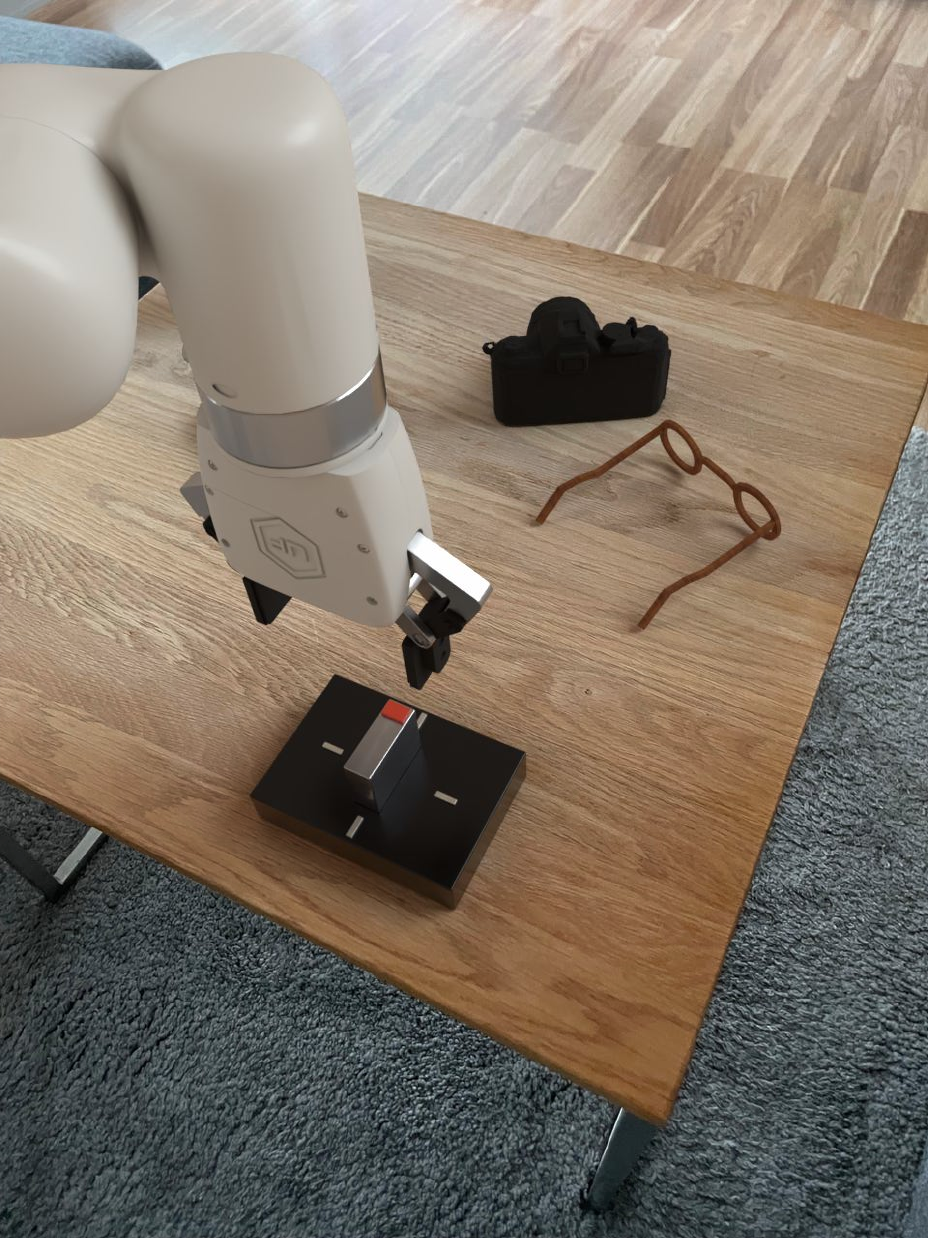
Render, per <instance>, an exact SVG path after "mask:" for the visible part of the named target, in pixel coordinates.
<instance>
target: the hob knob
mask: <svg viewBox="0 0 928 1238" xmlns="http://www.w3.org/2000/svg"><path fill="white" fill-rule="evenodd" d="M420 747H421V741H420V735H419V730H418V724H417V719H416V713H415V710H414V709H412V708H410V707H407V706H405V705H403V704H400V703H398V702H396V701H393V700H391V699H389V700H388V702H387V703H386V705H385V706H384V708H383V709H382V711H381V712H380V714H379V715H378V717H377V718H376V720H375V721H374V723H373V724H372V726H371V727H370V729H369V730H368V732H367V733H366V735H365V736H364V738H363V739H362V740H361V742H360V743H359V745H358V746H357V748H356V749H355V751H354V752H353V754H352V755H351V757H350V758H349V760H348V761H347V763H346V764H345V766H344V770H345V773H346V777H347V780H348V783H349V786H350V790H351V793H352V796H353V799H354V801H355V802H357V803H359V804H361V805H363V806H365V807H367V808H369V809H371V810H374V811H376V812H378V813H379V812H380V810H381V809H382V807H383V806H384V804H385V803H386V801H387V799H388V798H389V796H390V795H391V793H392V791H393V790H394V788H395V787H396V785H397V784H398V782H399V780H400V779H401V777H402V776H403V774H404V772H405V771H406V769H407V768H408V766H409V765H410V763H411V761H412V760H413V758H414V757H415V755H416V753H417V752H418V750H419V749H420Z"/></svg>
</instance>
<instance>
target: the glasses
mask: <svg viewBox="0 0 928 1238" xmlns="http://www.w3.org/2000/svg"><path fill="white" fill-rule="evenodd" d="M668 429H669V430H672V431H673V432H676V434H678V435H679V436H680V437H681V438H682V440H684V441H685V443H686V444H687V446H688V447H689V449H690V451H691V453H692V457H693V460H694V461H693V466H692V465H690V464H688V463H687V462H685V461H684V460H683V459H682V458H681V457H680V456H679V455H678V453H676V452H675V450H674V448H673V447H672V445H671V442H670V439H669V435H668V431H669V430H668ZM658 437H659V438H660V441H661V445H662V447H663V448H664V450H665V452H666V454H667V455H668V457H669V458H670V460H672V462H673V463H674V464H675V465H676V466H677V467H678V468H679V469H680V470H681V471H683V472H684V473H686V474H688V475H690V476H696V475H698V474H699V473H701V471H702V469H703V465H704V466H705V467H706V468H708V469H709V470H710V471H711V472H712V473H713V474H714V475H716V476H717V477H718V478H719V479H720V480H722V481H723V482H724V483H725V484H726V485H727V486H728V487H729V488H730V490H731V491H732V498H733V503H734V507H735V509H736V511H737V514H738V515H739V517H740V518H741V520H742V521H743V522H744V523H745V524H746V526H747V527H748V528H749V529H750V530H751V531H752V533H750V534H749V535H748V536H747V537H745V538H744V539H742V540H741V541H740V542H738V543H737V544H736V545H734V546H733V547H731V548H730V549H728V550H727V551H726V552H725V553H723V554H722V555H720V556H719V557H717V558H716V559H715V560H713V561H712V562H710V563H709V564H707V565H706V566H705V567H704V568H701V569H698V570H696V571H695V572H692V573H690V574H687V575H685V576H683V577H682V578H680V579H678V580H677V581H675V582H673V583H672V584H670V585H668V586H667V587H665V588H663V589H662V591H660V593H659V595H658V596H657V597H656V599H655V600H654V601H653V603H652V604H651V605H650V607H649V608H648V609H647V610H646V612H645V614H644V615H643V616H642V617H641V619H639V621H638V623H637V624H636V626H637V627H638V628H639V629H641V630H643V631H645V630H646V629H647V627H648V626H649V625H650V623H651V622H652V620H653V619H654V618H655V616H656V615H657V614H658V613H659V611H660V610H661V608H662V607H663V606H664V605H665V603H666V602H667V601H668V600H669V598H670V597H671V595H672V594H675V593H677V592H678V591H680V590H682V589H683V588H685V587H687V586H688V585H689V584H692V583H694V582H697V581H699V580H702V579H703V578H706V577H708V576H710V575H711V574H713V573H714V572H715V571H717V570H718V569H719V568H721V567H722V566H723V565H725V564H726V563H728V562H729V561H731V560H732V559H734V557H736V556H737V555H739V554H740V553H742V552H743V551H744V550H746V549H747V548H748V547H750V546H751V545H753V544H754V543H756V541H758V540H759V539H760V538H762V539H763V540H765V541H770V542H772V541H774V540H776V539H778V537H780V535H781V533H782V522H781V519H780V516H779V514H778V511H777V510H776V508H775V507H774V505H773V503H772V502H771V501H770V500H769V498H768V497H766V495H765V494H763V492H762V491H760V490H759V489H758V488H756V487H755V486H753V485H752V484H750V483H748V482H742V481H739V482H736V481H735V480H734V479H733V478H732V477H731V476H730V474H729V473H728V472H726V471H725V470H724V469H723V468H722V467H720V465H718V464H717V463H716V462H715V461H713V460H712V459H711V458H709V457H707V456H705V455H703V454H702V450H701V448H700V447H699V445H698V444H697V442H696V441H695V439H694V438H693V437H692V435H691V434H690V433H689V432H688V431H687V430H686V429H685V427H684V426H682V425H681V424H680V423H678V422H676V421H674V420H672V419H665V420H664V421H662V422H661V423H660V424H659V425H658V426H656V427H655V428H653V429H652V430H650V431H649V432H647V433H646V434H644V435H643V436H641V437H640V438H639V439H637V440H636V441H635V442H633V443H632V444H630V445H629V446H627V447H625V448H624V449H623V450H622V451H620V452H619V453H617V454H616V455H614V456H613V457H611V458H609V460H607V461H606V462H604V463H602V464H601V465H600V466H598V467H597V468H595V469H592V470H589V471H586V472H584V473H580V474H578V475H575V476H574V477H572V478H570V479H569V480H567V481H565V482H563V483H561V484H560V485H558V486H557V487H556V488H555V489H554V491H553V492H552V494H551V496H550V497H549V498H548V500H547V501H546V503H545V504H544V506H543V508H542V509H541V510H540V511H539V513H538V515H537V516H536V517H535V519H534V521H535V522H536V523H537V524H540V525H544V523H545V522H546V520H547V519H548V518H549V516H550V514H551V513H552V512H553V510H554V508H555V507H556V505H557V504H558V502H559V501H560V499H561V498H562V497H563V496H564V494H565V492H567V491H569V490H571V489H572V488H574V487H576V486H578V485H580V484H583V483H585V482H587V481H590V480H593V479H597V478H599V477H602V476H603V475H605V473H607V472H608V471H610V470H612V469H613V468H614V467H617V465H619V464H620V463H622V462H623V461H625V460H626V459H627V458H629V457H630V456H631V455H633V454H634V453H636V452H637V451H639V450H640V449H642V448H643V447H645V446H646V445H647V444H649V443H650V442H652V441H653V440H655V439H656V438H658ZM742 492H743V493H747V494H749V495H750V496H751V497H753V498H755V500H757V501H758V502H759V503H760V505H761V506H762V507H763V509H764V510H765V511H766V513H767V514H768V516H769V519H770V520H769V521H767V522H766V523H764V524H763V525H762V526H760V525H759V524H757V523H756V522H755V521H754V519H753V518H752V517H751V516H750V515H749V513H748V511H747V509H746V508H745V506H744V503H743V497H742Z"/></svg>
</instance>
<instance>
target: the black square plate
mask: <svg viewBox="0 0 928 1238" xmlns="http://www.w3.org/2000/svg"><path fill="white" fill-rule="evenodd" d="M389 699H391V700H393V701H396V702H398V703H400V704H403V705H405V706H407V707H410V708H412V709H414V710H415V713H416V719H417V724H418V730H419V735H420V741H421V747H420V749H419V750H418V752H417V753H416V755H415V757H414V758H413V760H412V761H411V763H410V765H409V766H408V768H407V769H406V771H405V772H404V774H403V776H402V777H401V779H400V780H399V782H398V784H397V785H396V787H395V788H394V790H393V791H392V793H391V795H390V796H389V798H388V799H387V801H386V803H385V804H384V806H383V807H382V809H381V810H380V812H379V813H378V812H376V811H374V810H371V809H369V808H367V807H365V806H363V805H361V804H359V803H357V802H355V801H354V799H353V796H352V793H351V790H350V786H349V783H348V780H347V777H346V773H345V770H344V766H345V764H346V763H347V761H348V760H349V758H350V757H351V755H352V754H353V752H354V751H355V749H356V748H357V746H358V745H359V743H360V742H361V740H362V739H363V738H364V736H365V735H366V733H367V732H368V730H369V729H370V727H371V726H372V724H373V723H374V721H375V720H376V718H377V717H378V715H379V714H380V712H381V711H382V709H383V708H384V706H385V705H386V703H387V702H388V700H389ZM526 777H527V752H526V751H524V750H522V749H520V748H517V747H514V746H512V745H510V744H507V743H505V742H502V741H500V740H497V739H495V738H493V737H490V736H488V735H486V734H483V733H480V732H478V731H475V730H473V729H470V728H468V727H466V726H463V725H461V724H458V723H456V722H453V721H451V720H449V719H447V718H444V717H441V716H439V715H437V714H434V713H432V712H430V711H426V710H424V709H422V708H420V707H418V706H415V705H412V704H410V703H407V702H405V701H402V700H400V699H397V698H395V697H393V696H390V695H388V694H386V693H383V692H381V691H378V690H376V689H373V688H370V687H368V686H367V685H365V684H361V683H358V682H356V681H353V680H352V679H349V678H347V677H344V676H342V675H339V674H337V673H334V674H333V675H332V676H331V678H330V680H329V681H328V682H327V684H326V685H325V686H324V688H323V689H322V691H321V692H320V694H319V695H318V697H317V698H316V699H315V701H314V702H313V704H312V706H311V707H310V708H309V710H308V711H307V712H306V714H305V715H304V717H303V718H302V720H301V721H300V723H298V725H297V727H296V728H295V730H294V731H293V732H292V734H291V736H289V738H288V739H287V741H286V743H285V744H284V745H283V747H282V748H281V750H280V751H279V753H278V754H277V755H276V756H275V758H274V760H273V761H272V763H271V764H270V766H268V768H267V770H266V771H265V773H264V774H263V776H261V778H260V780H259V781H258V783H257V784H256V785H255V787H254V788H253V789H252V791H251V793H250V794H249V798H250V800H251V802H252V805H253V807H254V808H255V810H256V813H257V814H258V817H259V818H260V819H262V820H263V821H266V822H268V823H270V824H272V825H274V826H276V827H278V828H281V829H283V830H285V831H287V832H289V833H291V834H292V835H295V836H298V837H299V838H302V839H304V840H306V841H308V842H310V843H312V844H314V845H316V846H318V847H320V848H322V849H324V850H326V851H329V852H331V853H333V854H335V855H337V856H339V857H341V858H343V859H345V860H348V861H349V862H352V863H354V864H356V865H357V866H360V867H362V868H364V869H366V870H368V871H370V872H373V873H375V874H376V875H379V876H381V877H384V878H385V879H387V880H390V881H391V882H394V883H396V884H398V885H400V886H402V887H404V888H406V889H408V890H410V891H413V892H414V893H417V894H418V895H421V896H423V897H425V898H427V899H429V900H431V901H433V902H436V903H438V904H440V905H441V906H443V907H446V908H447V909H449V910H452V911H455V910H456V909H458V906H459V904H460V902H461V900H462V898H463V897H464V895H465V893H466V891H467V889H468V887H469V885H470V883H471V881H472V880H473V877H474V876H475V874H476V872H477V870H478V869H479V866H480V865H481V862H482V861H483V859H484V857H485V856H486V853H487V851H488V850H489V848H490V846H491V844H492V843H493V839H494V838H495V837H496V835H497V833H498V831H499V828H500V827H501V825H502V823H503V821H504V819H505V817H506V815H507V814H508V811H510V808H511V806H512V804H513V802H514V800H515V799H516V796H517V795H518V793H519V791H520V789H521V787H522V785H523V784H524V781H525V780H526Z"/></svg>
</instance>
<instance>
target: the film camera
mask: <svg viewBox="0 0 928 1238" xmlns="http://www.w3.org/2000/svg"><path fill="white" fill-rule="evenodd" d="M669 340H670V339H669V336H668V335H667V334H666V333H665V332H664V331H663V330H660V329H659V328H658V326H656V325H655V324H645V325H643V326H638V322H637V319H636V317H634V316H630V317H629V318H628V319H627V321H625V323H622V322H618V321H612V322H608V323H605V325H603V326H602V328H601V326H600V324H599V322H598V320H597V319H596V315H595V313H594V312H593V311H592V310H591V308H590V307H589V306H588V304H587V303H586V302H584V300H583V301H582V300H581V299H580V298H578V297H574V296H570V295H568V296H563V295H562V296H561V295H560V296H554V297H552V298H549V299H548V300H544V301H542V302H541V303H539V304H538V305H537V306H536V307H535V308H534V310H533V311H532V312H531V314H530V318H529V321H528V324H527V328H526V333H525V335H508V336H506V337H504V338H500V339H499V340H498V341H496V342H495V341H488V342H484V343H483V345H482V346H481V349H482V352H483V353H484V354H485V355H487V356H490V370H491V388H492V391H491V392H492V410H493V414H494V417H495V419H496V421H498V422H499V423H500V424H502V425H504V426H507V427H522V426H523V427H524V426H546V425H558V424H559V425H560V424H574V423H575V424H576V423H577V424H578V423H589V422H601V421H602V422H603V421H604V422H605V421H615V420H617V421H618V420H625V419H633V418H635V419H636V418H643V417H652V416H653V415H655V414H657V413H658V412H659V411H660V409H661V408H662V405H663V403H664V401H665V400H666V396H667V386H668V379H669V371H670V365H671V357H672V349H671V348H670V346H669ZM490 345H491V346H492V347H489V346H490Z"/></svg>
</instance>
